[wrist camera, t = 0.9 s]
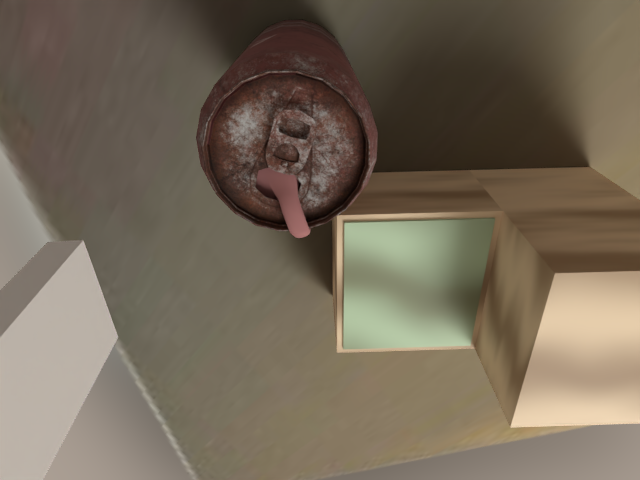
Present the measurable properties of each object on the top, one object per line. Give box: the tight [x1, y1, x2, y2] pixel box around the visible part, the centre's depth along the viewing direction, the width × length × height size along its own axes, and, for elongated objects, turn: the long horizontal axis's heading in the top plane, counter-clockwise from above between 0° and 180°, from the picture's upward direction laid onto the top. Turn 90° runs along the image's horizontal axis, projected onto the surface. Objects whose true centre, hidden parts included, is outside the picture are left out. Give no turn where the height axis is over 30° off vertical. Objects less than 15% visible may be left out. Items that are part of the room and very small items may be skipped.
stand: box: [332, 167, 640, 427], centre depth 27 cm, size 10×17×12 cm, turn 91°
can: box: [196, 20, 378, 238], centre depth 21 cm, size 6×6×14 cm
